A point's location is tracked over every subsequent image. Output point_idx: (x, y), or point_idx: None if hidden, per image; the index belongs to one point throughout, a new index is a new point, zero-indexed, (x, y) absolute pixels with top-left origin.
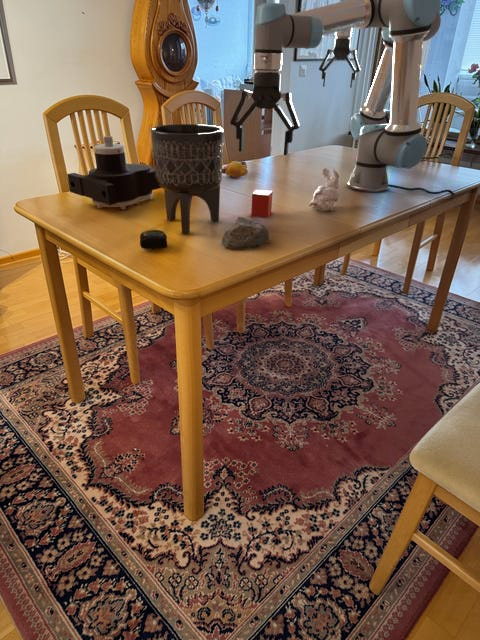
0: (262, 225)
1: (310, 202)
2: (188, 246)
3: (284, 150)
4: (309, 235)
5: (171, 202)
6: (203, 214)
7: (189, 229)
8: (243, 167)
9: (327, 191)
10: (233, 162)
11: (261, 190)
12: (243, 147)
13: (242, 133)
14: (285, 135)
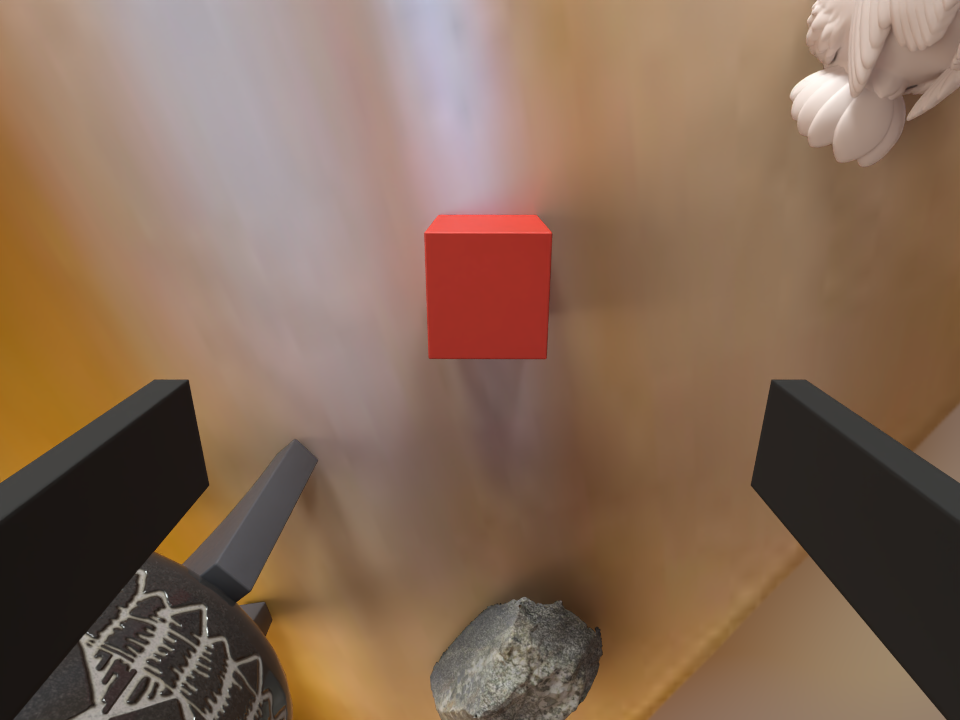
0: (576, 670)
1: (812, 134)
2: (327, 699)
3: (785, 519)
4: (756, 493)
5: None
6: (189, 362)
7: (262, 618)
8: None
9: None
10: None
11: (468, 247)
12: (171, 410)
13: (44, 636)
14: (931, 691)
